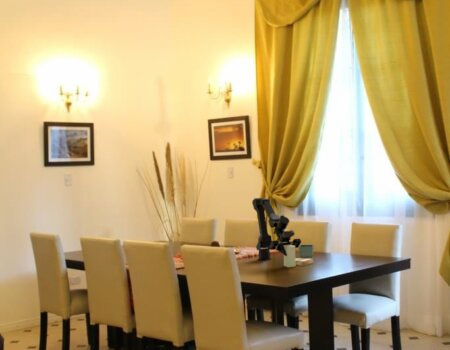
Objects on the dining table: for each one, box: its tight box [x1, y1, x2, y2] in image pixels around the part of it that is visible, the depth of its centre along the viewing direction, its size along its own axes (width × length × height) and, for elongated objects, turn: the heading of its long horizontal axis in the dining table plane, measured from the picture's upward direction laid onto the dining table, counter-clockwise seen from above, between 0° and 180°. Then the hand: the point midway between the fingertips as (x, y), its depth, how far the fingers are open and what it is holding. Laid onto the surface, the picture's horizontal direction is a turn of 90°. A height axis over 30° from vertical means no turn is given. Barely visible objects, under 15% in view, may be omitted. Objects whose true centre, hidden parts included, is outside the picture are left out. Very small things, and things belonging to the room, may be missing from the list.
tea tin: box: [283, 245, 297, 268], centre depth 367 cm, size 5×5×12 cm
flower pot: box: [298, 244, 315, 259], centre depth 389 cm, size 9×9×9 cm
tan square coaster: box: [295, 257, 314, 267], centre depth 375 cm, size 11×11×3 cm
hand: (290, 255), depth 365 cm, fingers closed on tea tin, 5 cm apart
